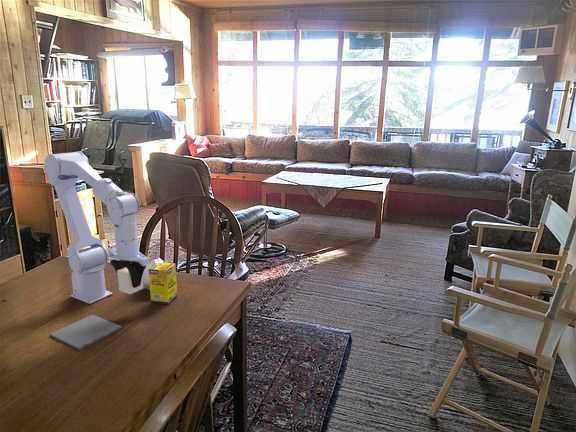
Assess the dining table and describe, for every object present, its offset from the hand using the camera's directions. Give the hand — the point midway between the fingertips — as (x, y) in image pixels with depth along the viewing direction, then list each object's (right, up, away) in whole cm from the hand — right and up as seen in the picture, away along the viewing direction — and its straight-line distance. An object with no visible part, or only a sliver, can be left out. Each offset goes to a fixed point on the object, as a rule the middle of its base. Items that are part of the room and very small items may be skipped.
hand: (130, 284), depth 118 cm
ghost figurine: (+2, -4, +17) cm, 17 cm away
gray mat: (-8, -11, -9) cm, 16 cm away
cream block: (0, -2, 0) cm, 2 cm away
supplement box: (+7, -6, +10) cm, 13 cm away
